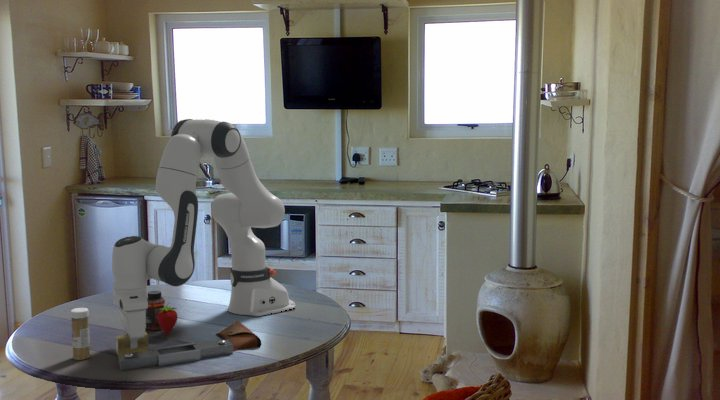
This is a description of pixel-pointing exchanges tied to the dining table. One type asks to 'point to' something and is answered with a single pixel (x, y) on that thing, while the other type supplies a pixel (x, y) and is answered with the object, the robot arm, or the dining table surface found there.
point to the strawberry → (167, 318)
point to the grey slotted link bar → (175, 354)
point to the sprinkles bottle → (80, 333)
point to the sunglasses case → (240, 336)
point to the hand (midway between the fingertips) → (132, 345)
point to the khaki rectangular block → (124, 344)
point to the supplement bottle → (154, 309)
